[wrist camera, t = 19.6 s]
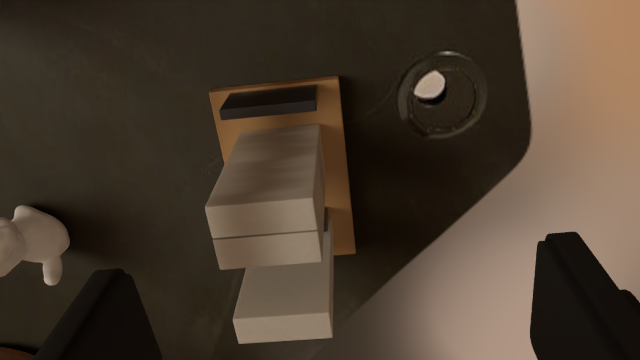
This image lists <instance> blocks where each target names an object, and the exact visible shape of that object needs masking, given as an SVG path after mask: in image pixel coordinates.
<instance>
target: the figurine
mask: <svg viewBox="0 0 640 360" xmlns="http://www.w3.org/2000/svg"><path fill="white" fill-rule="evenodd" d="M69 244H70V239H69V235H68V232H67V229H66V227H65V226H64V225H63V224H62V223H61V222H60V221H59V220H58V219H56V218H55V217H53V216H51V215H49V214H46V213H44V212H42V211H39V210H37V209H35V208H33V207H30V206H26V205H21V206H18V207H17V208H16V210H15V213H14V218H13V220H11V221H10V220H8V219H6V218H3V217H0V277H2V276H5V275H7V274H8V273H9V272H10V271H11V270H12V269H13V268H14V267H15V266H16V265H17V264H18V263H19V262H20V261H21V260H26V261H30V262H41V263H43V273H44V281H45V283H46V284H48V285H56V284H57V283H58V282H59V280H60V278H61V275H62V261H61V258H60V256H61V254H62V253H63V252H64V251H66V250H67V248H68V247H69Z"/></svg>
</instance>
